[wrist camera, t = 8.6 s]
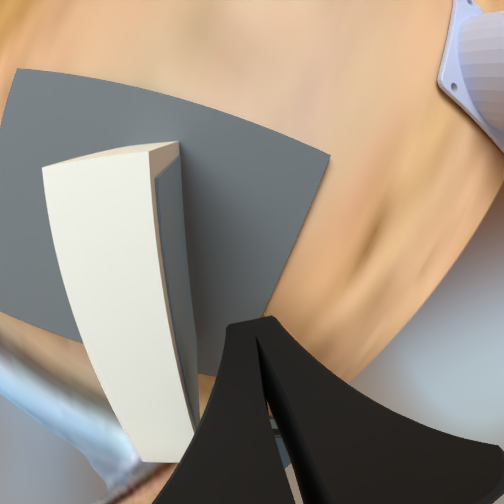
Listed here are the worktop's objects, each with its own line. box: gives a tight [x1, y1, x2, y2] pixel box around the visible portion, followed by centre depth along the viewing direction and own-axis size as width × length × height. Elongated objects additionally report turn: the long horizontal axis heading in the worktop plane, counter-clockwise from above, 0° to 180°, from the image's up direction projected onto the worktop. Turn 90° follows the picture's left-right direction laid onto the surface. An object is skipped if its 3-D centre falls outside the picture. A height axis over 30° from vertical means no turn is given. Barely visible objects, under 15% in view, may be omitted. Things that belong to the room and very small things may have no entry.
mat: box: [0, 68, 331, 376], centre depth 11 cm, size 14×12×1 cm
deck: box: [42, 141, 200, 462], centre depth 9 cm, size 2×9×6 cm, turn 0°
